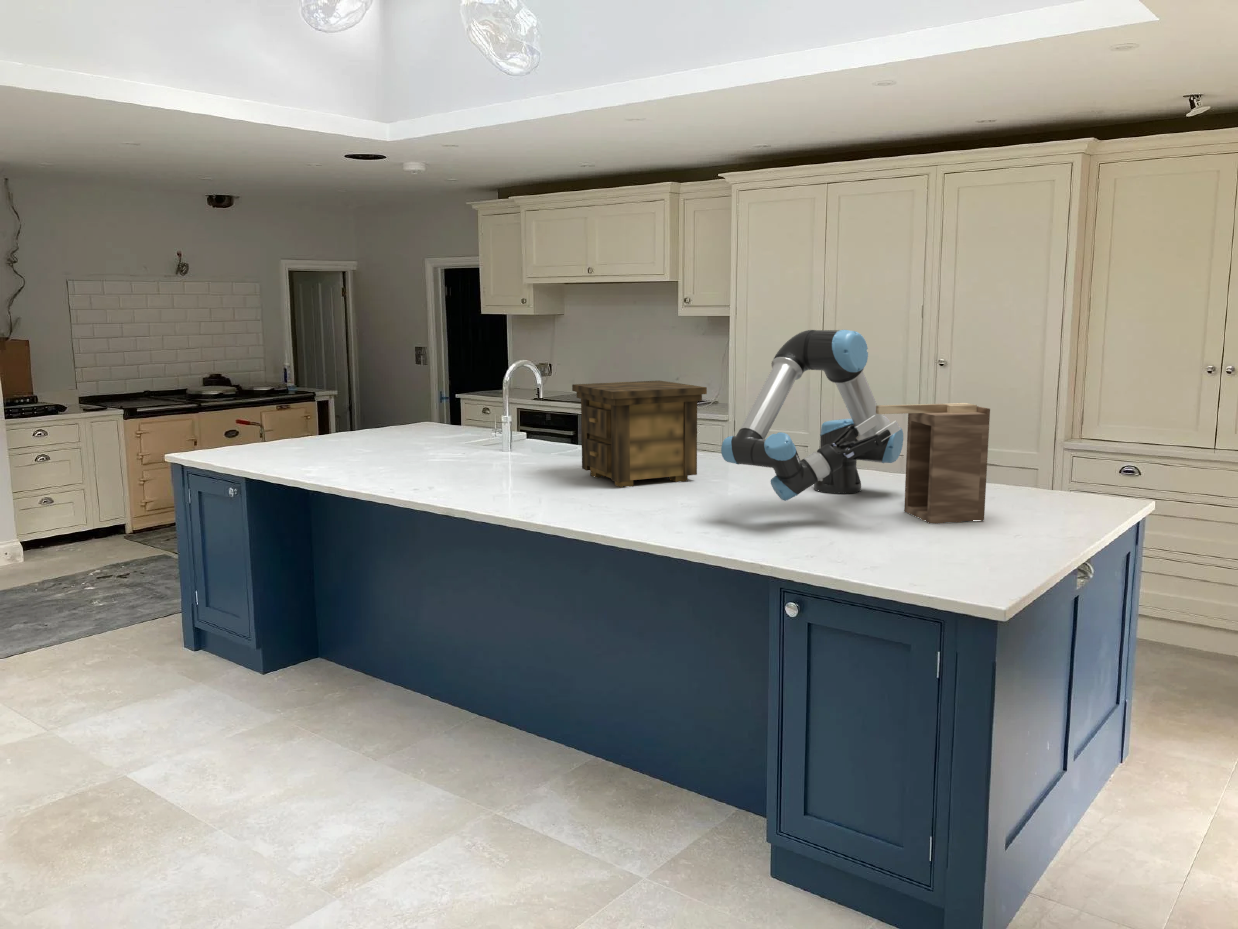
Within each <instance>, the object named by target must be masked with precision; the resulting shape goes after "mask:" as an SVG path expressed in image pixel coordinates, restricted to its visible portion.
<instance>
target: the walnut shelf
mask: <svg viewBox="0 0 1238 929" xmlns="http://www.w3.org/2000/svg"><path fill="white" fill-rule="evenodd" d="M990 418H991V408H988V407H983V406H979V405H977V412H966V413H948V412H940V413H907V435H906V455H905V456H906V459H905V460H906V462H905V481H904V482H905V484H904V485H905V486H904V505H903V507H904V510H903V511H905V512H904V513H906V512H907V513H906V514H908V513H910V514H912V515H914V516H913V517H915V516H916V517H915V518H917V517H919V518H921V519H922V520H921V519H920V520H921V521H923V520H926V521H927V522H926V521H925V522H926V523H928V522H929V523H928V524H930V523H935V524H946V523H945V522H956V523H962V522H961V521H973V520H984V521H985V508H986V493H987V492H986V491H987V475H988V473H987V471H988V458H989V457H988V455H989V453H988V452H989V440H990V439H989V436H990V422H991V421H990ZM910 514H909V515H910ZM912 515H911V516H912ZM919 518H918V519H919ZM943 522H944V523H943Z"/></svg>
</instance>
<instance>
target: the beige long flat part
mask: <svg viewBox="0 0 1238 929" xmlns="http://www.w3.org/2000/svg"><path fill="white" fill-rule="evenodd" d="M977 406H978V405H977V404H974V403H969V402H968V403H967V402H958V403H957V402H955V403H953V402H952V403H922V404H921V403H919V404H913V403H912V404H883V405H880V404H879V405H878V404H877V405H876V414H881V415H895V414H896V415H897V414H899V415H900V414H901V415H902V414H908V413H940V412H948V413H966V412H977Z"/></svg>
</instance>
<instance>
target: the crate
mask: <svg viewBox="0 0 1238 929" xmlns="http://www.w3.org/2000/svg"><path fill="white" fill-rule="evenodd" d="M571 387H572V388H571V389H572V392H574V393H576V398H577V399H580V415H581V416H580V421H581V422H580V424H581V426H580V427H581V429H580V430H581V431H580V432H581V469H582V470H584V471H590V476H591V477H593V476H595V477H594V478H602V477H601V476H606V477H605V478H609V479H611V481H613V482H614V485H615V486H616V487H619V486H620V487H619V488H624V487H623V486H629V487H634V481H637V480H639V481H640V480H647V479H660V478H668V477H669V480H670V479H671V480H673V481H672V482H674V481H675V482H676V483H679V482H678V481H681V482H687V481H686V480H689V479H688V477H689V476H697V475H698V402H702V401H703V395H707V392H708V391H707V390H708V389H707V386H702V385H701V386H700V385H692V384H688V383H687V384H686V383H679V382H674V381H673V382H672V381H666V380H665V381H664V380H644V381H642V380H640V381H639V380H638V381H619V382H618V381H617V382H599V383H598V382H597V383H578V384H577V383H574V384H573V383H572V384H571ZM671 480H670V481H671Z"/></svg>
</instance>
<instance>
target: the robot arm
mask: <svg viewBox="0 0 1238 929" xmlns="http://www.w3.org/2000/svg"><path fill="white" fill-rule="evenodd" d="M866 341H867V340H866V339H865V336H863V335H862V334H861V333H860V332H858V331H855V330H848V329H838V330H837V329H833V330H829V329H828V330H827V329H824V330H823V329H822V330H821V329H820V330H819V329H818V330H817V329H807V330H804V331H801V332H799V333H797V334H795V335H794V336H792V337H791V338H790V339H788V340H787V341H786V342H785V343H784V344H783V345H782V346H781V347H780V348H779V349H778V351H777V352H776V354H775V355H774V357H773V359H772V361H771V370H770V372H769V373H768V375H767V378H766V380H765V381H764V383H763V385H762V387H761V389H760V391H759V393H758V394H757V396H756V398H755V400H754V402H753V404H752V405H751V407H750V410H749V412H748V413H747V415H746V417H745V419H744V421H743V423H742V425H741V426H740V428H739V430H738V432H737V434H736V436H735V435H730V436H727V437H726V438H725V437H724V439H723V441H722V442H721V447H720V453H721V456H722V458H723V460H724V461H725V462H727V463H730V464H735V465H746V466H753V467H754V466H755V467H762V468H770V469H773V470H774V473H775V475H774V477H772V478H771V479H770V485H771V487H772V489H773V491H774V492H775V494H776V495H777V496H778V498H779V499H780V500H781V501H783V502H787V501H789V500H791V499H793V498H795V497H796V496H799V495H800V494H802V493H803V492H804V491H805V490H807V489H808V488H810V487H812V486H813V490H815V491H817V490H819V491H818V492H820V491H822V492H821V493H826V492H827V494H840V493H843V494H853V493H855V492H856V493H859V492H861V491H862V481H861V478H860V475H859V474H860V473H859V471H858V469H857V468H858V467H857V461H863V462H864V461H865V462H870V463H871V462H872V463H881V464H885V463H886V464H893V463H895V462H896V461H897V460H898V459H899V457H900V456H901V453H902V449H903V444H904V431H903V429H902V427H900V425H899V423H898V421H897V420H894V421H892V422H891V420H890V419H889V418H888V417H887V416H885V414H876V405H878V403H877V401H876V399H875V396H874V395H873V392H872V390H871V387H870V384H869V383H868V381H867V378H866V376H865V373H864V369H865V367H866V365H867V363H868V357H869V352H868V349H869V348H868V344H867V342H866ZM807 371H823V372H824V374H825V376H826V379H827V380H828V381H830V382H831V383H833V384H835V385H836V387H837V390H838V392H839V394H840V396H841V398H842V401H843V403H844V404H845V408H846V409H847V411H848V414H849V416H850V417H851V418H842V419H832V420H827V421H824V422H823V423H822V424H821V428H820V434H819V435H820V448H818V449H817V450H816V451H813V452H811V453H810V454H808V455H807V456H805V457H803V458H802V459H800V456H799V453H798V451H797V448H796V444H794V442H793V439H792V438H791V436H790V435H789V434H788V433H785V432H777V433H772V434H770V435H769V436H768V434H769V432H770V430H771V428H772V426H773V425H774V422H775V420H776V418H777V416H778V414H779V412H780V411H781V409H782V406H783V405H784V403H785V401H786V399H787V397H788V395H789V393H790V391H791V389H792V387H793V386H794V384H795V382H796V381H797V380H800V379H801V378H802V376H803V374H804V373H805V372H807ZM860 490H861V491H860ZM858 491H859V492H858Z"/></svg>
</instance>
